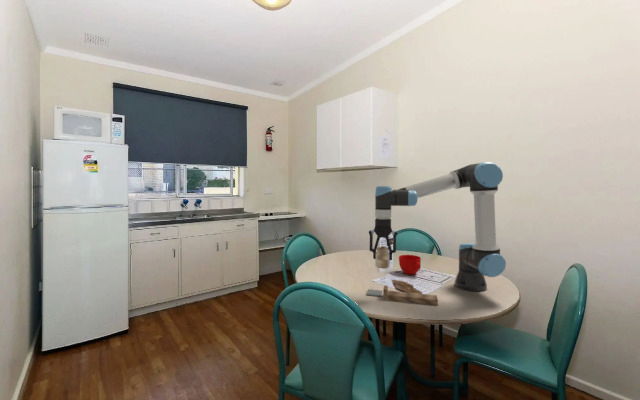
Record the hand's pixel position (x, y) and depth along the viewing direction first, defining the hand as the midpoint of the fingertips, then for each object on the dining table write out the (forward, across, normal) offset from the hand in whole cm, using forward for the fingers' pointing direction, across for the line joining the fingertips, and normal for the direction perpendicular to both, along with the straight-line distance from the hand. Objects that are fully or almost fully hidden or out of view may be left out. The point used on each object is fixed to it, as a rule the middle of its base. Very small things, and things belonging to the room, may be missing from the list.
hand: (382, 266), depth 139 cm
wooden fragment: (+16, -10, -17) cm, 25 cm away
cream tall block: (0, 0, 0) cm, 0 cm away
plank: (+15, -13, 0) cm, 20 cm away
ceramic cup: (+15, -15, -42) cm, 47 cm away
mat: (+15, +4, -4) cm, 16 cm away
